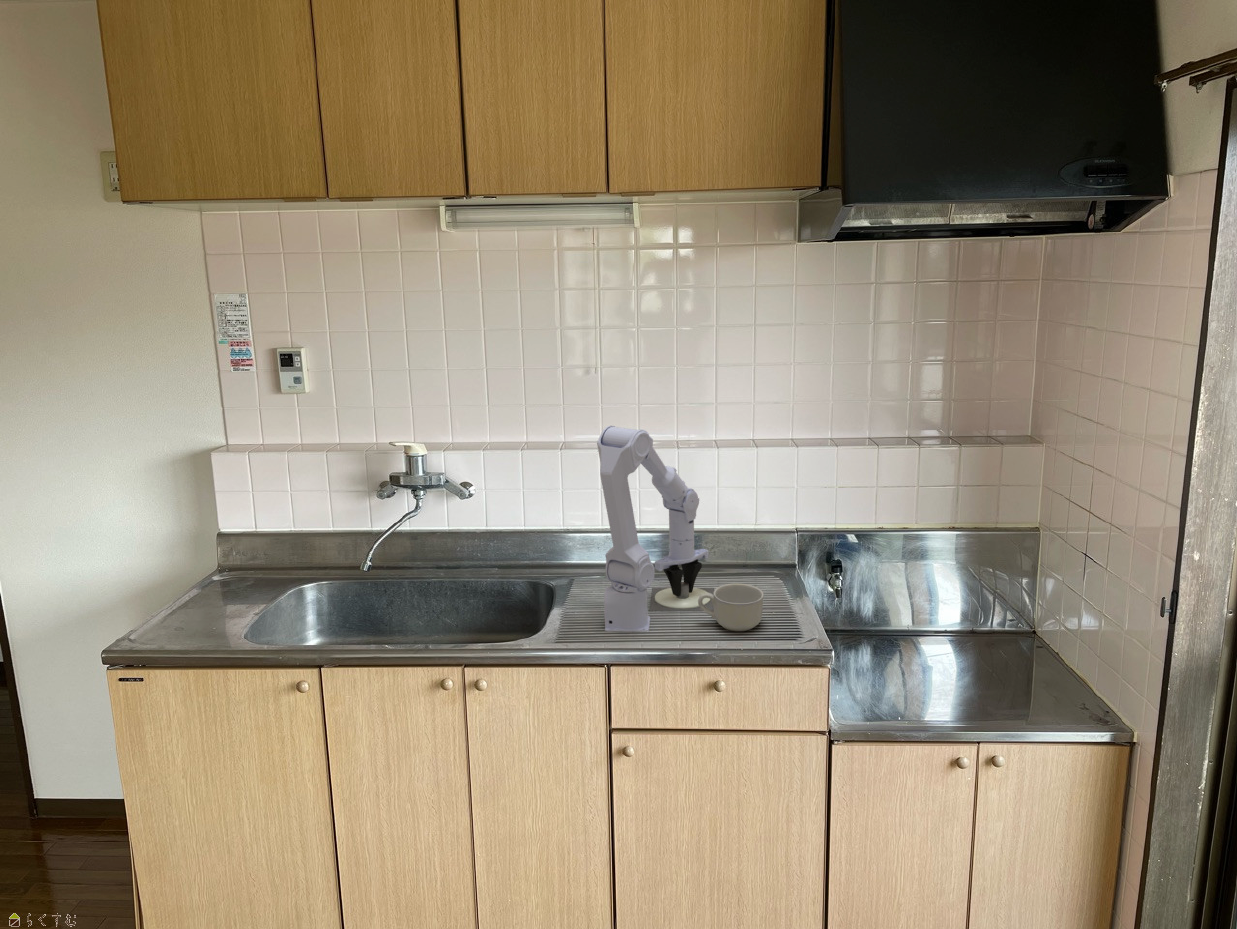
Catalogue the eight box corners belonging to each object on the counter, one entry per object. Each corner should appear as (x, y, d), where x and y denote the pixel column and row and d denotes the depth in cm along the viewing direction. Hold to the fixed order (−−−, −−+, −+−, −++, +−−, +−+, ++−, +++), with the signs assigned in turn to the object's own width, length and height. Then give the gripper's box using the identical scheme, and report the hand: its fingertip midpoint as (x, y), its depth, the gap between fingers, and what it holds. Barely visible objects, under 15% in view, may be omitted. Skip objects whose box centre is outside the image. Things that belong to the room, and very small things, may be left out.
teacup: (766, 619, 202) (766, 585, 201) (759, 639, 192) (759, 603, 191) (704, 614, 206) (704, 580, 205) (694, 633, 196) (693, 597, 195)
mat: (649, 612, 208) (649, 610, 208) (652, 589, 223) (652, 587, 223) (715, 612, 207) (715, 611, 207) (714, 589, 222) (714, 587, 221)
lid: (653, 609, 209) (653, 594, 208) (655, 589, 222) (655, 575, 221) (711, 609, 208) (711, 594, 207) (709, 589, 221) (709, 574, 220)
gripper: (694, 527, 219) (695, 581, 222) (646, 539, 211) (647, 595, 214) (714, 534, 213) (714, 589, 216) (665, 547, 205) (666, 604, 208)
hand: (682, 593), depth 214 cm, fingers closed on lid, 3 cm apart
